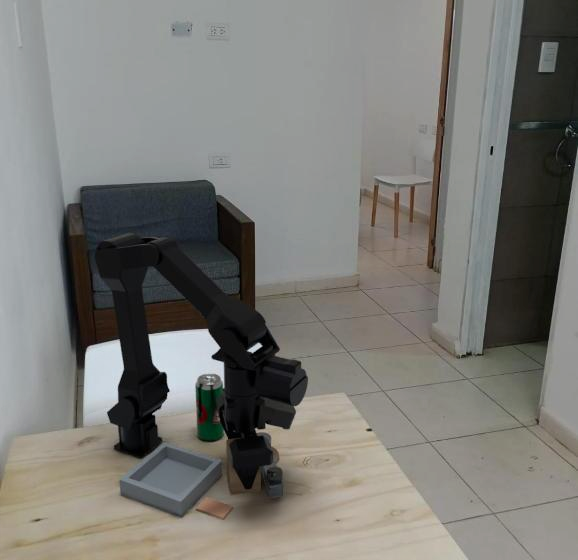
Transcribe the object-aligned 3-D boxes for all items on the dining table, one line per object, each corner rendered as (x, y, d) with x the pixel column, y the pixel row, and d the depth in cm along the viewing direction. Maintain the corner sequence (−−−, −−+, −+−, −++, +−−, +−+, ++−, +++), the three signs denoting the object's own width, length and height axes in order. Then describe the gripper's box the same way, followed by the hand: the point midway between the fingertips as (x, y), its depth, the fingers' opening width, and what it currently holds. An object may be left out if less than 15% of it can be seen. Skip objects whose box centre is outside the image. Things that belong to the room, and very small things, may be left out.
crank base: (192, 508, 98) (192, 505, 98) (254, 443, 115) (254, 441, 115) (226, 521, 95) (226, 518, 95) (284, 452, 113) (284, 450, 112)
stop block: (227, 480, 105) (226, 439, 102) (255, 476, 106) (255, 435, 104) (230, 495, 101) (229, 453, 99) (260, 490, 102) (260, 449, 100)
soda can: (219, 444, 115) (217, 386, 111) (193, 440, 116) (191, 383, 112) (227, 429, 120) (226, 373, 116) (202, 426, 121) (200, 371, 117)
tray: (120, 494, 101) (119, 479, 100) (165, 456, 111) (164, 441, 110) (181, 517, 96) (180, 501, 95) (222, 475, 106) (222, 460, 105)
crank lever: (249, 449, 112) (249, 430, 111) (268, 447, 113) (268, 427, 112) (265, 500, 99) (265, 478, 98) (287, 497, 100) (287, 475, 99)
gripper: (307, 412, 91) (304, 500, 96) (278, 357, 108) (277, 434, 113) (232, 421, 89) (233, 511, 94) (215, 363, 106) (217, 442, 111)
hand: (243, 471), depth 103 cm, fingers open, 9 cm apart
